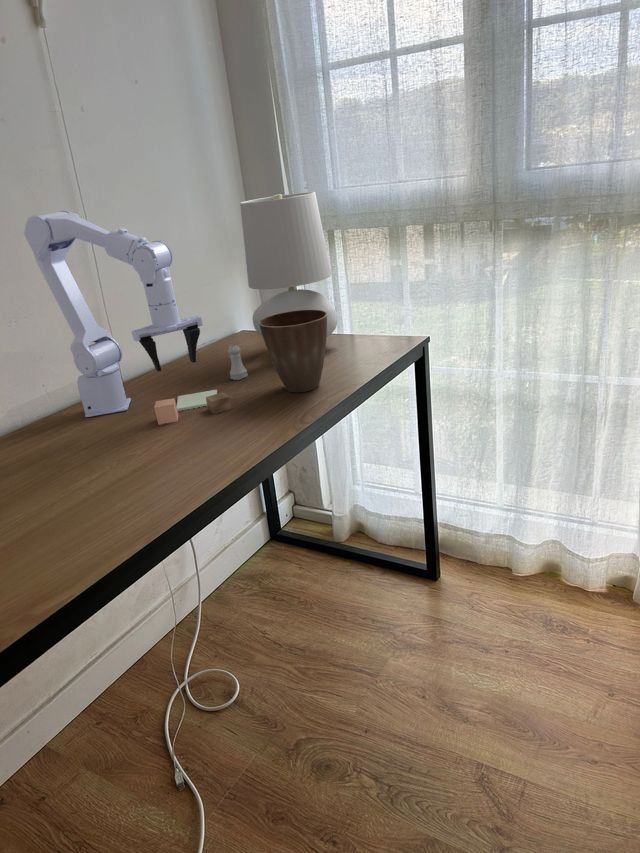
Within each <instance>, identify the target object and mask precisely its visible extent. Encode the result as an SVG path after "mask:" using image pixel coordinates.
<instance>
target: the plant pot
mask: <svg viewBox="0 0 640 853" xmlns="http://www.w3.org/2000/svg"><path fill="white" fill-rule="evenodd" d="M259 326H260V329H261V333H262V336H263V337H262V336H261V337H262V338H263V341H264V344H265V347H266V350H267V351H268V355H269V358H270V360H271V362H272V364H273V367H274V369H275V371H276V373H277V375H278V377H279V379H280V380H281V382H282V384H283V386H284V388H285V390H286V391H287V392H290V393H305V392H310V391H312V390H315V389H317V388H318V387H319V386H320V382H321V378H322V373H323V369H324V364H325V356H326V348H327V338H328V337H327V313H326V312H325V311H322V310H296V311H289V312H284V313H279V314H275V315H271V316H268V317H266V318H264V319H262V320H260V321H259Z"/></svg>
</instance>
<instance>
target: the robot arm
mask: <svg viewBox="0 0 640 853" xmlns="http://www.w3.org/2000/svg"><path fill="white" fill-rule="evenodd" d="M23 236H24V237H25V239H26V241H27V242H28V245H29V246H30V248H31V250H32V252H33V255H34V259H35V262H36V264H37V266H38V268H39V270H40V272H41V274H42V275H43V277H44V280H45V282H46V283H47V285H48V287H49V289H50V292H51V293H52V294H53V297H54V299H55V301H56V303H57V305H58V306H59V309H60V310H61V312H62V314H63V316H64V318H65V320H66V322H67V324H68V326H69V328H70V330H71V332H72V333H73V335H74V338H73V339H72V342H71V344H70V346H69V350H70V352H71V353H72V357H73V362H74V365H75V368H76V369H77V371H79V373H80V374H82V375H78V377H77V389H78V393H79V396H80V400H81V404H82V406H83V412H84V414H85V415H84V416H85V418H90V417H95V416H96V417H97V416H102V415H107V414H114V413H118V412H124V411H128V409H129V406H130V405H131V401H132V398H131V397H127V396H126V392H125V387H124V384H123V380H122V377H121V372H120V367H121V364H120V362H121V361H122V359H123V350H122V347H121V346H120V344H119V343H118V341H116V340H115V339H114V337H113V336H112V334H111V333H110V331H109V330H106V329H105V328H103V327H100V326H99V325H98V323H97V321H96V319H95V318H94V316H93V314H92V311H91V309H90V308H89V306H88V303H87V302H86V300H85V298H84V295H83V294H82V292H81V289H80V288H79V285H78V284H77V282H76V280H75V278H74V276H73V275H72V272H71V271H70V268H69V266H68V264H67V263H66V256H67V253H68V252H69V250H70V249H71V248H72V247H73V244H75V241H76V240H77V239H78V240H81V241H84V242H86V243H89V244H92V245H96V246H98V247H100V248H104V250H105V252H106V254H107V255H108V256H109V257H111V258H114V259H116V260H118V261H121V262H123V263H126V264H128V265H131V266H132V267H133V270H134V271H135V272H137V274H138V276H139V279H140V282H142V285H143V288H144V293H145V297H146V301H147V302H146V303H147V306H148V310H149V314H150V320H151V323H152V324H151V325H147V326H144V327H141V328H138V329H133V330H131V334H132V339H133V340H134V341H135V342H139V343H140V344H141V347H142V348H144V350H145V351H146V353H147V354H148V356H149V358H150V359H151V362H152V364H153V365H154V368H155V371H156V372H162V367H161V363H160V360H159V355H158V353H157V352H158V351H157V343H156V341H155V340H154V338H153V337H156V336H157V337H158V336H162V335H165V334H170V333H174V332H178V331H179V332H180V331H182V333H183V334H184V337H185V342H186V346H187V353H188V356H189V360H190V362H191V363H197V347H198V341H199V337H200V334H201V329H200V327H202V326H204V324H203V319H202V316H200V315H195V316H189V317H183V318H180V313H179V308H178V304H177V303H178V302H177V299H176V295H175V290H174V285H173V281H172V279H173V278H172V275H171V271H170V267H171V265H172V264H173V258H174V257H173V253H172V251H171V248H170V247H169V245H167V243H165V242H163V241H162V240H159V239H158V240H157V239H156V240H153V241H151V242H150V241H148V238H146V237H144V236H141V237H138V236H136V235H134V234H132V233H129V231H128V229H126V228H123V227H121V228H117V229H113V230H111V231H109V230H107V229H105V228H102V226H101V227H100V226H99V225H96V224H94V223H93V222H90V221H88V220H86V219H84V218H82V217H80V215H79V214H78V213H74V212H71V211H68V210H65V209H64V210H59V211H57V212H51V213H45V214H39V215H38V214H37V215H35V214H34V215H30V216H29V217H28V218H27V220H26V223H25V228H24V231H23ZM90 343H93V344H90Z"/></svg>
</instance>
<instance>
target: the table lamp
mask: <svg viewBox="0 0 640 853" xmlns="http://www.w3.org/2000/svg"><path fill="white" fill-rule="evenodd" d="M239 204H240V205H239V206H240V213H241V224H242V225H241V226H242V234H243V244H244V253H245V254H244V256H245V264H246V274H247V284H248V287H249V288H250V289H253V290H280V289H285V288H287V289H288V290H286V291H282V292H280V293H277V294H275V295H273V296H272V297H270V298H268V299H267V300H265V301H264V302H262V303H261V304H260V305H259V306H258V307H257V308H256V309H255V310H254V312H253V314H252V324H253V327H254V329H255V331H256V333H258V334H259V335H260V337H262V338H263V336H262V333H261V329H260V326H259V321H260V320H262V319H264V318H266V317H268V316H271V315H275V314H279V313H284V312H289V311H296V310H322V311H325V312H326V313H327V338H328V337H329V336H331V335H332V334H333V332H335V330H336V328H337V326H338V317H337V313H336V310H335V307H334V305H333V304H332V302H331V301H330V300H329V299H328V298H327V297H326V296H325V295H324V294H322V293H320V292H319V291H315V290H311V289H298V288H297V289H295V287H301V286H305V285H310V284H313V283H317V282H320V281H323V280H326V279H328V278H330V277H331V276H332V275H333V273H332V269H331V264H330V259H329V254H328V248H327V244H326V240H325V239H326V238H325V234H324V230H323V225H322V220H321V215H320V211H319V210H320V209H319V204H318V199H317V193H316V192H315V191H307V192H296V193H289V194H280V193H279V194H275V195H274V194H273V196H267V197H262V198H256V199H251V200H246V201H241V202H240V203H239Z"/></svg>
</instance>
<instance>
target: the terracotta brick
mask: <svg viewBox="0 0 640 853" xmlns="http://www.w3.org/2000/svg"><path fill="white" fill-rule="evenodd" d="M153 408H154V411H155V416H156V420H157V423H158V425H164V424H165V423H166V424H170V423H176V422H178V421H179V420H178V419H179V411H177V402H176V398H175V397H174V398H173V397H172V398H167V399H162V400H157V401H155V403H154V407H153ZM166 424H165V425H166Z"/></svg>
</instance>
